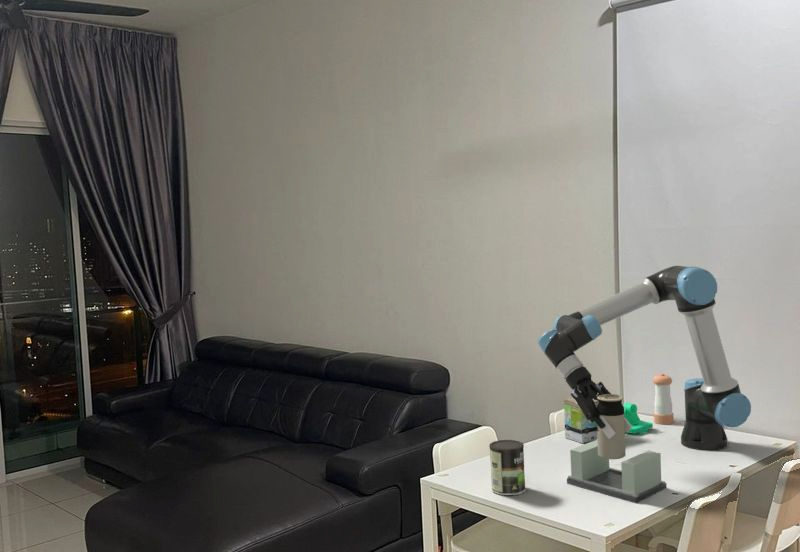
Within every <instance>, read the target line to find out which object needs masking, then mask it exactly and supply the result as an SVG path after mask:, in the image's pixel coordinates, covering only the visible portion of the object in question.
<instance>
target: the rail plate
mask: <svg viewBox="0 0 800 552" xmlns="http://www.w3.org/2000/svg"><path fill="white" fill-rule="evenodd" d="M566 484H568V485H570V486H571V485H572V486H575V487H579V488H583V489H586V490H589V491H593V492H595V493H600V494H603V495H605V496H606V495H607V496H610V497H613V498H617V499H620V500H623V501H626V502H627V501H628V502H631V503H634V504H637V503H639V502H642V501H643V500H646V499H647V498H650V497H651V496H653V495H655V494H657V493H660V492H662V491H664V490H665V489H667V483H666V481H664V480H661V484H659V485H657V486H655V487H653V488H651V489H648V490H646V491H644V492H642V493H640V494H633V493H629V492H625V491H622V469H617V468H612V467H610V466H609V468H608V471H606V472H603V473H601V474H599V475H596V476H594V477H592V478H589V479H587V480H584V479H578V478H575V477H571V475H568V476H567V478H566Z"/></svg>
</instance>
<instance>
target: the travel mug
mask: <svg viewBox="0 0 800 552" xmlns="http://www.w3.org/2000/svg"><path fill="white" fill-rule="evenodd" d="M597 399H598V401H599V403H598V405H597V410H598V413H599V417H600V416H603V417H604V419H605V420H606V421H607V422H608V424H609V425H610V426H611V428H612V429H613V430H614V432H615V433H616V434H615V435H614V436H613V437H612V438H611V439H608V437H607V436H606V435H605V433H604V432H603V431H602V429H601V428H599V426H598V425H597V437H598V455H599V456H600V457H602V458H605V459H609V460H620V459H623V458H625V457H626V432H625V420H624V407H623V405H624V404H623V399H624V397H623V396H622V395H619V394H612V393H611V394H603V395H599V396H597Z"/></svg>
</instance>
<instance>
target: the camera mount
mask: <svg viewBox="0 0 800 552" xmlns="http://www.w3.org/2000/svg"><path fill="white" fill-rule="evenodd" d="M622 405H623V407H624V416H625V418H626V419H627V421H628V422H629V423H630V424H631V426H632V428H631V429H630V430H629V431H628V432H627V433H628V434H629V433H630V434H638V435H642V434H645V433H648V432H649V430H650V429H653V427H654V422H649V421H645V420H641V419H640V417H639V415H638V413H637V412H638V406H637V405H636V404H635V403H630V402H625V403H623V404H622Z"/></svg>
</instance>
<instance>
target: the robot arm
mask: <svg viewBox="0 0 800 552" xmlns="http://www.w3.org/2000/svg"><path fill="white" fill-rule="evenodd" d="M717 293H718V283H717V279H716V278H715V276H714V275H713V273H711V272H710V270H709V271H708V270H707V269H705V268H701V267H699V266H683V265H673V266H670V267H667V268H664V269H661V270H660V271H657V272H655V273H653V274H651V275H649V276H647V277H644V278H642V280H641V282H640V283H639V284H635V285H634V286H631V287H630V288H627V289H625V290H622V291H620V292H617V293H616V294H612V295H611V296H609V297H607V298H605V299H602V300H600V301H597V302H595V303H593V304H591V305H588V306H586V307H584V308H582V309H580V310H578V311H575V312H573V313H570V314H569V315H567V314H562V315H559V316H558V317H557V318H556V319H555V320H554V322H553V329H550V330H547V331H545V332H544V333H543V334H542V335H541V336H540V337H539V339H538V342H537V344H538V345H539V347H540V349H541V350H542V352H543V353H544V355H545V356H546V357H547V358H548V360H549V361H550V363H551V364H552V365H553V366H554V367H555V369H556V370H557V371H558V372H559V374H560V375H561V377H562V379H565V382H566V384H567V385H568V386H569V388H570V389H572V390H573V391H572V392H571V393H570V396H571V398H574V399H575V400H576V402H577V403H578V405H579V407H580V408H581V410H582V412H583V414H584V415H585V417H586V419H587V420H590V421H591V422H594V421H595V422H596V424H597V425H598V426H599V428H601V429H602V431H603V432H604V433H605V435H606V436H607V437H608V439H611V438H612V437H613V436H614V435H615V434H616V433H615V432H614V430H613V429H612V428H611V426H610V425H609V424H608V422H607V421H606V420H605V419H604V417H603V416H600V417H599V413H598V410H597V408H596V405H595V403H594V400H597V401H598V399H597V396H599V395H603V394H612V393H611V391H609V390H608V389H607V388H606V387H605V385H604V384H603V382H602V381H599V382H598V383H595V382H594V381H593V380H592V374H591V373H590V371H589V370H588V369H587V368H586V366H584V363H583V361H582V360H580V358H579V357H578V356H577V355H576V353H575V352H576V351H578V350H579V349H581V348H583V347H584V346H587V344H589V343H591V342H592V341H594V340H596V339H597V338H598V337H600V336H601V335H602V334H603V328H602V325H604V324H605V325H606V324H607V323H610V322H611V321H613V320H614V321H615V320H616V319H618V318H621V317H623V316H625V315H627V314H630V313H633V312H634V311H636V310H639V309H641V308H643V307H645V306H648V305H650V304H653V305H657V304H660V303H661V302H666V301H675V303H676V304H675V305H676V308H677V311H678V313H680V314H682V315H683V316H684V318H685V320H686V324H687V325H686V326H687V327H688V332H689V336H690V338H691V342H692V346H693V349H694V352H695V356H696V359H697V360H696V361H697V363H698V366H699V367H698V368H699V370H700V374H701V376H702V378H701V377H699V378H689V379H687V380H686V381H684V389H683V391H684V410H685V413H684V415H685V422H684V426H683V429H682V431H681V435H680V443H681V445H682V446H684V447H687V448H690V449H694V450H695V449H696V450H703V451H716V450H721V449H726V448H727V447H728V445H729V442H728V436H727V434H726V430H725V429H724V428H725V427H728V428H737V427H740V426H741V425H743V424H745V422H747V420H748V418H749V417H750V415H751V412H752V403H751V401H750V399H749V398H748V397H747V396H746V395H745V394H743V393H742V392H741V388H740V384H739V382H738V380H736V379H734V378H733V377H732V374H731V371H730V368H729V364H728V362H727V361H728V360H727V358H726V354H725V350H724V347H723V343H722V339H721V336H720V333H719V329H718V326H717V322H716V319H715V314H714V312H713V311H714V310H713V308H714V307H715V305H716V299H715V298H716V294H717ZM596 395H597V396H596ZM593 399H594V400H593ZM588 414H589V415H588ZM624 420H625V434H626V433H628V431H629V430H630V429H631V428H632V426H631V424H630V423H629V422H628V421H627V419H626V418H625V416H624Z"/></svg>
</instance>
